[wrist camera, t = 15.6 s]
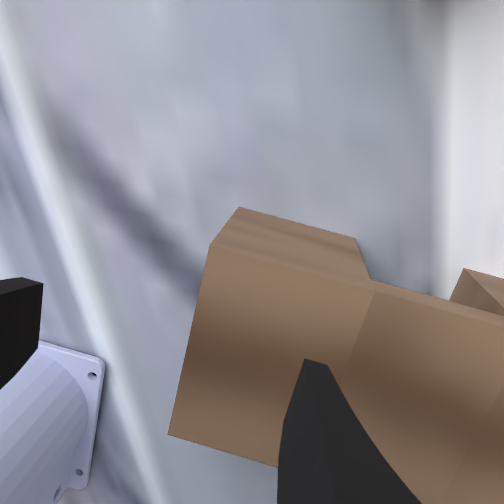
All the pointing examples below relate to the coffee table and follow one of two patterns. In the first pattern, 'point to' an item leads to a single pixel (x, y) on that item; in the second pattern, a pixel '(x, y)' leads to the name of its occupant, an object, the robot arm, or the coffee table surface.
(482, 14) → the coffee table surface
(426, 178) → the coffee table surface
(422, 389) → the brown notched block
